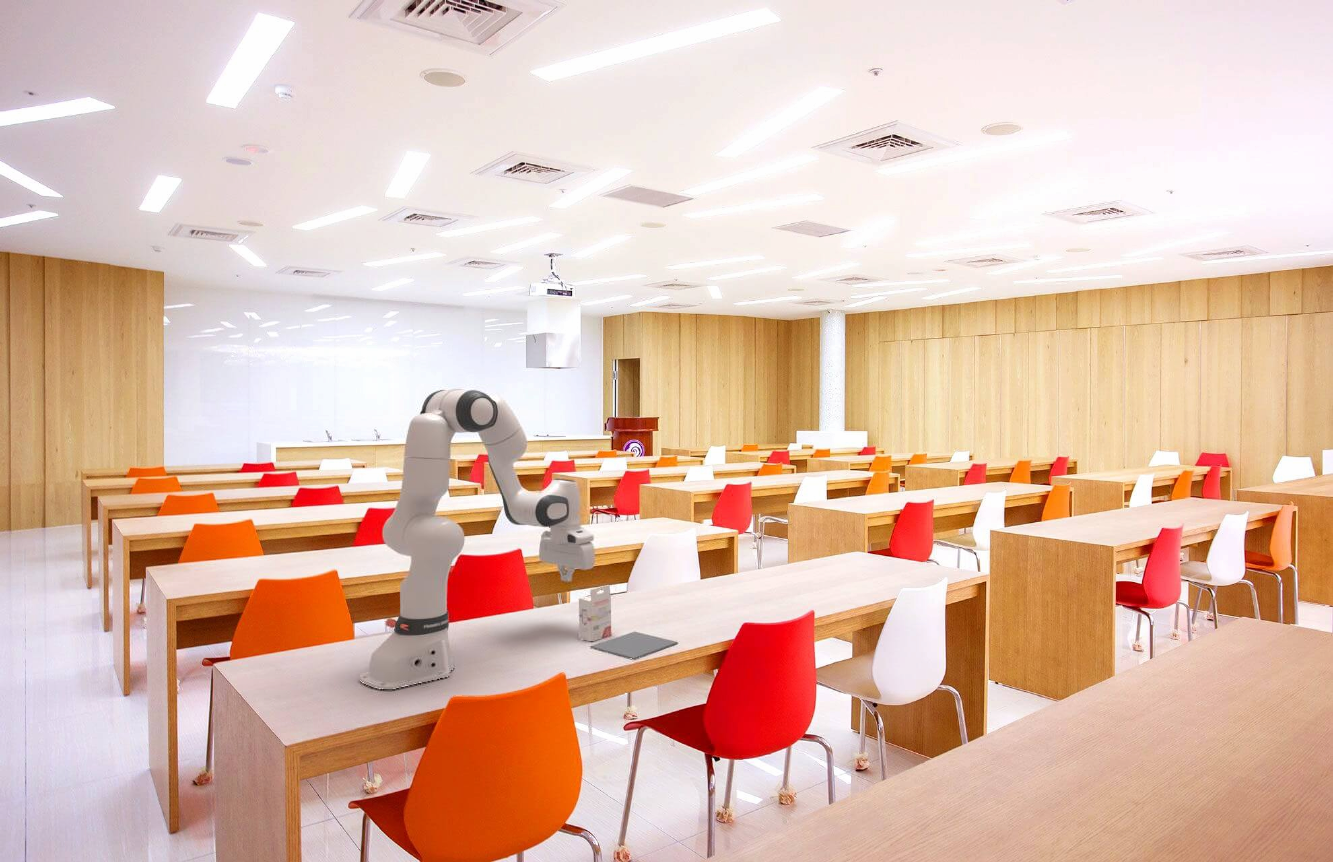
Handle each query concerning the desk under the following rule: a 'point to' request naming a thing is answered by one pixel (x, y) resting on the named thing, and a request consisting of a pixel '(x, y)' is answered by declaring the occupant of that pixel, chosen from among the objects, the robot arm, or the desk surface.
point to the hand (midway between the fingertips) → (566, 580)
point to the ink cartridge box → (595, 614)
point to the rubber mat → (634, 645)
